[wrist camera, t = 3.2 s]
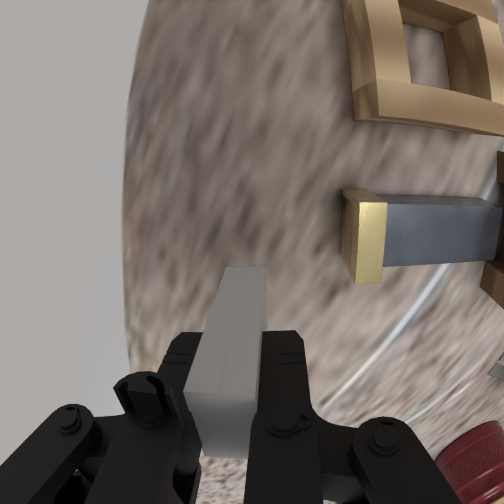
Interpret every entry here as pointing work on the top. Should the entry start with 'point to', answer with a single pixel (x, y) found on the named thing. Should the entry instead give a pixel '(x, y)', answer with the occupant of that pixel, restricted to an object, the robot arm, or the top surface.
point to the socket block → (496, 271)
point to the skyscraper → (498, 368)
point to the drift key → (414, 231)
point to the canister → (476, 465)
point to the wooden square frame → (398, 74)
